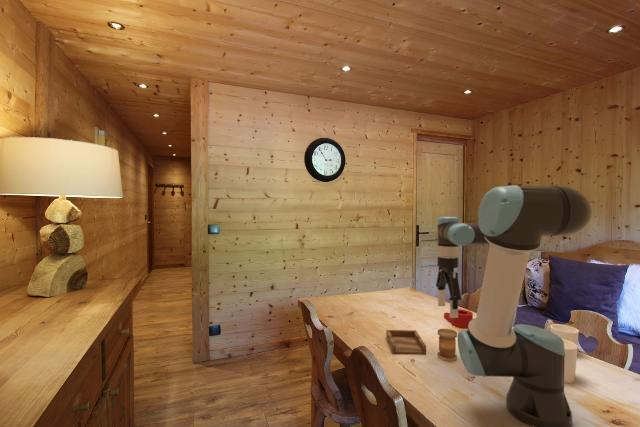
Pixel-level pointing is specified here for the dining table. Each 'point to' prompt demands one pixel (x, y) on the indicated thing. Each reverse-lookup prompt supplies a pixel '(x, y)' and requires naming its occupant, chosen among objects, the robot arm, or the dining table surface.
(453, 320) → the red watering can
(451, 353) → the bobbin
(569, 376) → the candle holder
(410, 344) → the wooden tray
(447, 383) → the dining table surface
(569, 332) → the mug
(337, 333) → the dining table surface
